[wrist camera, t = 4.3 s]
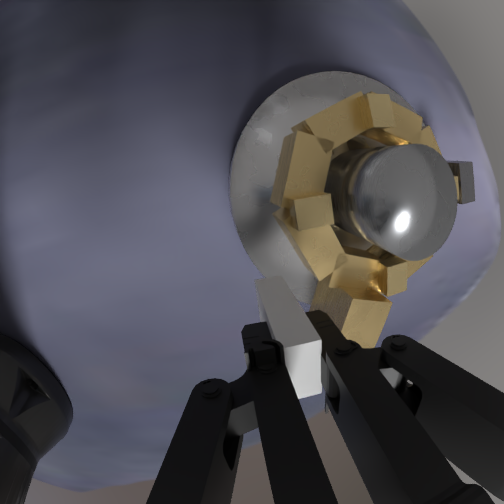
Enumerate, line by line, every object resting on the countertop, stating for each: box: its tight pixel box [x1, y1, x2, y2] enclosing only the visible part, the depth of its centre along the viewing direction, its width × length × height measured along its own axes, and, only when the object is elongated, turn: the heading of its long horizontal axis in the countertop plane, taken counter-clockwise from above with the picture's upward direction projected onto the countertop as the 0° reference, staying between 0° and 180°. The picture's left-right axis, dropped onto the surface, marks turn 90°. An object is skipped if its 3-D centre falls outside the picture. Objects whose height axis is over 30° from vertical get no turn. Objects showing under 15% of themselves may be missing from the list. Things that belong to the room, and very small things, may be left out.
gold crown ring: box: [270, 91, 459, 348], centre depth 17 cm, size 17×12×5 cm
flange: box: [229, 71, 475, 305], centre depth 16 cm, size 18×18×9 cm
